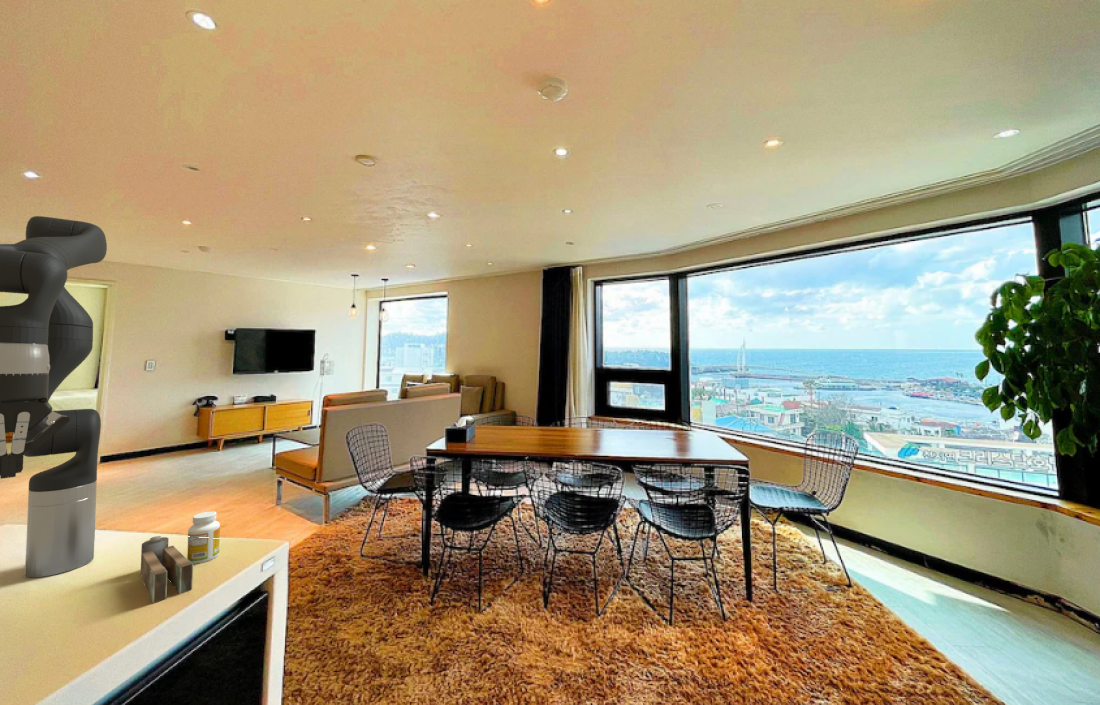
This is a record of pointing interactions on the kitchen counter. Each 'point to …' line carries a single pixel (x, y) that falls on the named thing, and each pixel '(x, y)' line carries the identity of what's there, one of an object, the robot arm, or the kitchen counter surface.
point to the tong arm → (154, 576)
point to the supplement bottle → (203, 547)
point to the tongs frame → (171, 562)
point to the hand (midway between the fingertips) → (7, 476)
